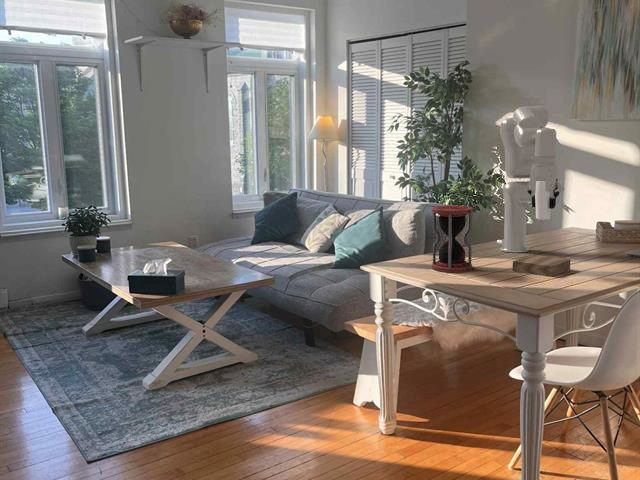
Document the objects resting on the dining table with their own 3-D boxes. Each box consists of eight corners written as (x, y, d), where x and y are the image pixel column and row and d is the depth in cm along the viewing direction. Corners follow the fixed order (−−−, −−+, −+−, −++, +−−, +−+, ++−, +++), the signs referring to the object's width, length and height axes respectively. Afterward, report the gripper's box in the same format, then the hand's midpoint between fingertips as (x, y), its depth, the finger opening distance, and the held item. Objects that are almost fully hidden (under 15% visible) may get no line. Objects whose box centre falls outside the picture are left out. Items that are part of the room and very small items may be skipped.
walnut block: (512, 270, 248) (512, 260, 248) (532, 264, 259) (532, 254, 259) (551, 276, 237) (551, 266, 236) (570, 269, 248) (570, 259, 247)
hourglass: (470, 273, 246) (471, 210, 241) (428, 271, 251) (429, 209, 246) (473, 265, 261) (474, 205, 256) (434, 263, 266) (435, 204, 261)
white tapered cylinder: (552, 218, 247) (553, 179, 244) (552, 220, 240) (553, 181, 238) (533, 217, 249) (535, 179, 246) (533, 220, 242) (534, 181, 240)
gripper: (519, 161, 244) (518, 207, 247) (562, 162, 232) (560, 210, 235) (528, 160, 249) (527, 205, 252) (571, 161, 237) (569, 208, 240)
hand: (543, 207), depth 244 cm, fingers closed on white tapered cylinder, 6 cm apart
